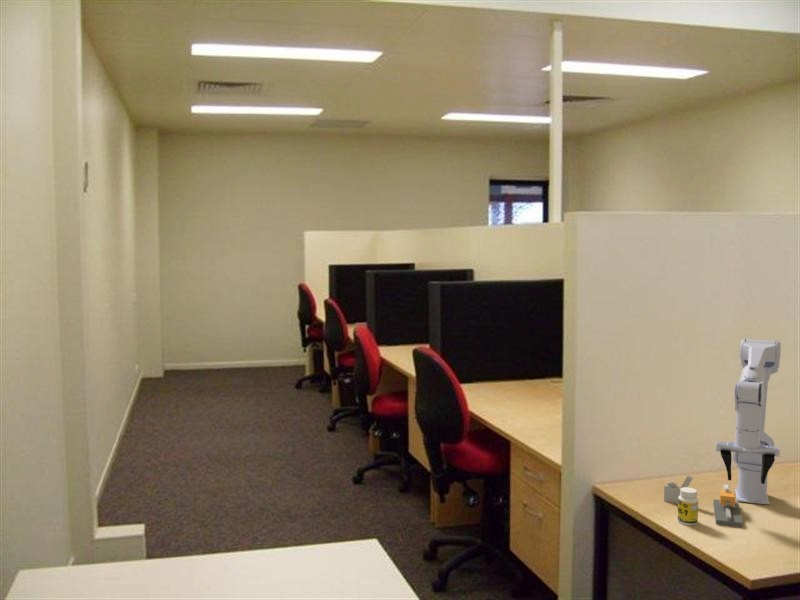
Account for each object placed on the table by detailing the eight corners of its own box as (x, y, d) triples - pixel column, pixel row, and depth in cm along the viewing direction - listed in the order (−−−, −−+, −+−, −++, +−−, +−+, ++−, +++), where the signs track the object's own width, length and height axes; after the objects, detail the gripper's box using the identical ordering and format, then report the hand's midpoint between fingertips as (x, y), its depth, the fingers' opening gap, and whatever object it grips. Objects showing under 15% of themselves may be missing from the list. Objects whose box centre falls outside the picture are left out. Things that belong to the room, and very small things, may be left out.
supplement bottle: (673, 520, 190) (674, 488, 189) (687, 517, 191) (688, 485, 191) (687, 527, 185) (688, 494, 184) (701, 523, 187) (702, 491, 186)
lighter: (663, 501, 203) (664, 472, 202) (665, 499, 204) (666, 470, 203) (690, 506, 199) (691, 477, 198) (692, 504, 200) (693, 475, 199)
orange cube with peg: (719, 499, 197) (719, 490, 197) (733, 500, 196) (734, 492, 195) (720, 506, 192) (720, 497, 192) (735, 508, 191) (735, 499, 190)
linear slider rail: (713, 503, 201) (714, 482, 200) (737, 506, 198) (738, 485, 198) (716, 524, 187) (716, 501, 186) (742, 527, 184) (743, 504, 184)
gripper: (717, 430, 187) (715, 482, 188) (781, 435, 182) (779, 489, 183) (716, 423, 193) (714, 474, 195) (778, 427, 188) (776, 480, 190)
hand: (745, 480), depth 189 cm, fingers open, 7 cm apart
